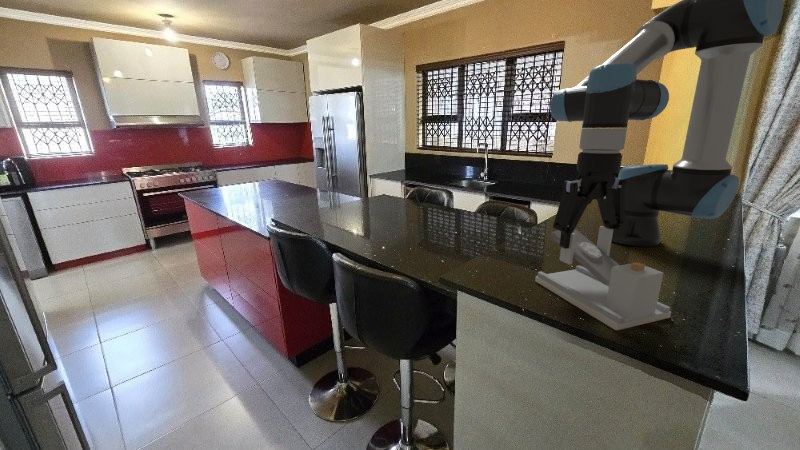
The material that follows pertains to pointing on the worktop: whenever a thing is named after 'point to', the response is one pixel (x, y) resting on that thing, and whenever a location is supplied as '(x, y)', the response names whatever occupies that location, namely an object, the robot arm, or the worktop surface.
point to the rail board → (612, 294)
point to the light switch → (590, 256)
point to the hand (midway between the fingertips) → (584, 259)
